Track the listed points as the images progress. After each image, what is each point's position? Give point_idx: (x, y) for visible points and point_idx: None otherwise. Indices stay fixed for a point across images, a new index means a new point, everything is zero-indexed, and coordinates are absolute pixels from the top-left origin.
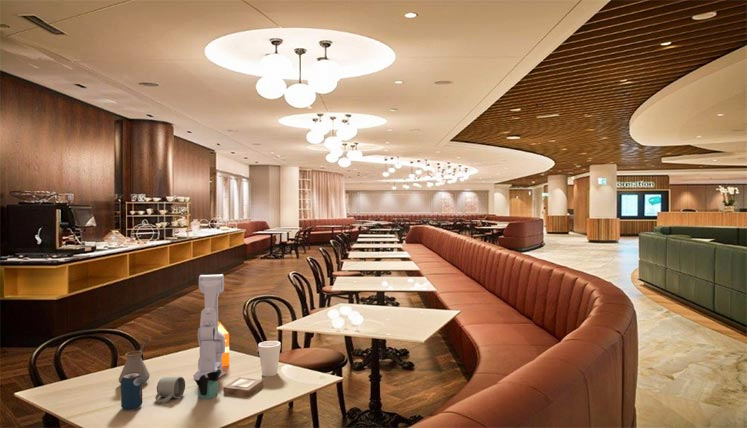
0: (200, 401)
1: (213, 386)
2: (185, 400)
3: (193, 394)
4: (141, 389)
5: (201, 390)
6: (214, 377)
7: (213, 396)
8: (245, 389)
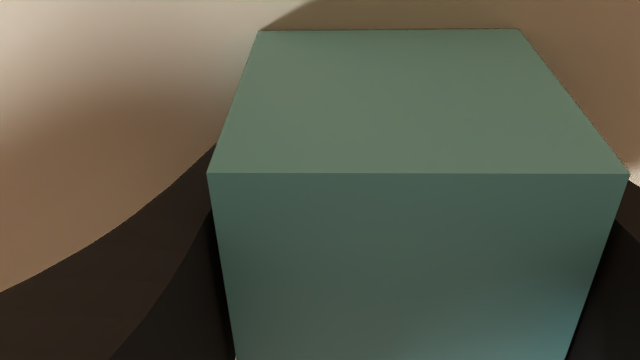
0: (637, 119)
1: (412, 127)
2: None
3: None
4: None
5: None
6: (185, 335)
7: (392, 31)
8: None
